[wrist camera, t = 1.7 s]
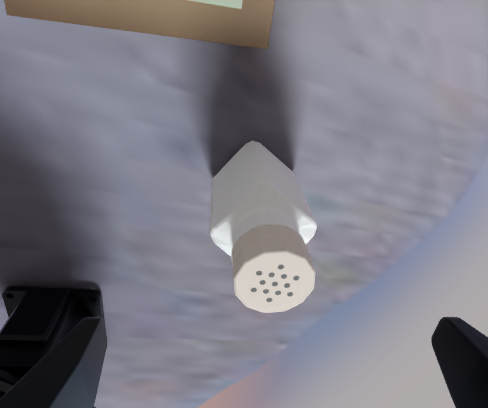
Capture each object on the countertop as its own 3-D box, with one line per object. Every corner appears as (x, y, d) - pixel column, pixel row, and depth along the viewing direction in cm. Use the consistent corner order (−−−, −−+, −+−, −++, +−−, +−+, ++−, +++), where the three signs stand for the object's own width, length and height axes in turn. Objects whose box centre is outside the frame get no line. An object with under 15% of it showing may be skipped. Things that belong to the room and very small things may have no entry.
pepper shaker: (298, 174, 22) (348, 278, 13) (254, 215, 23) (274, 334, 15) (251, 132, 20) (275, 221, 12) (207, 179, 21) (200, 289, 13)
